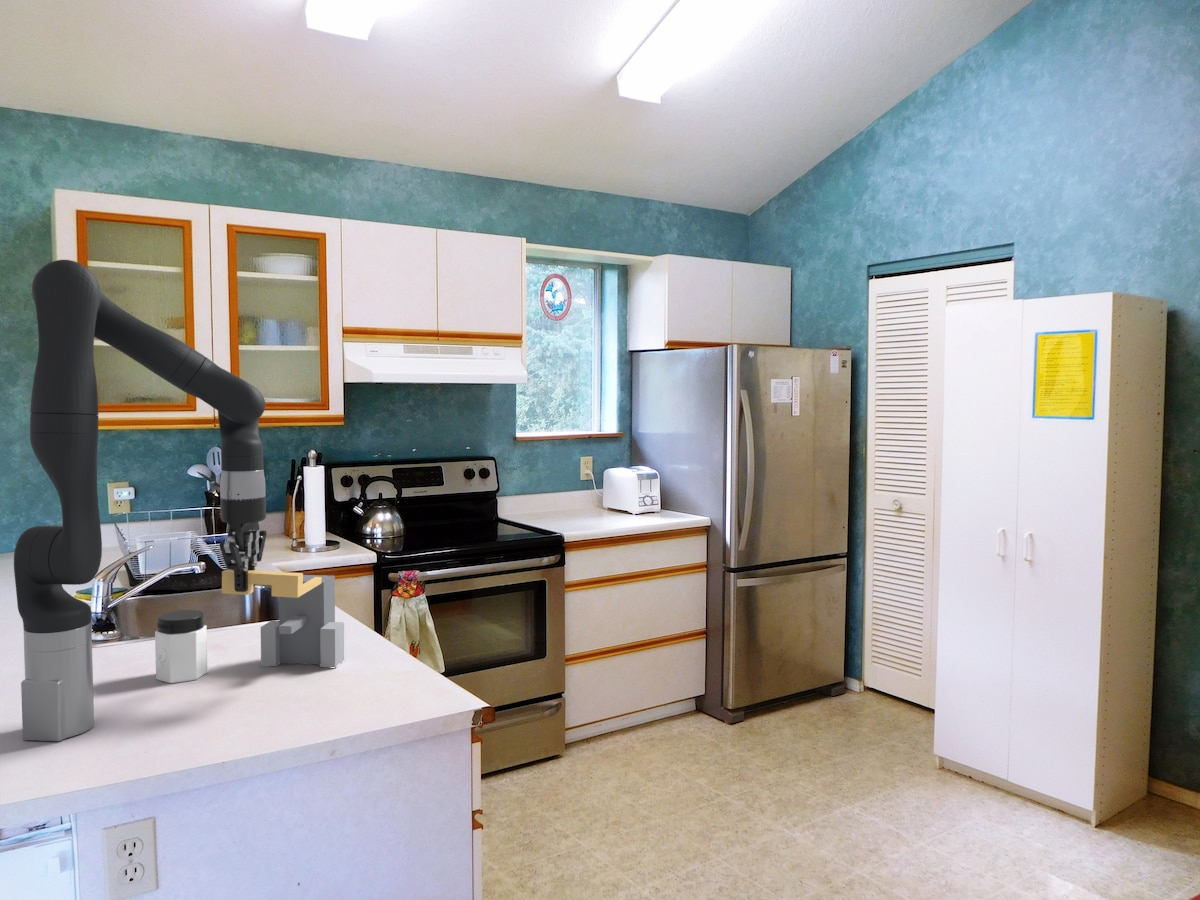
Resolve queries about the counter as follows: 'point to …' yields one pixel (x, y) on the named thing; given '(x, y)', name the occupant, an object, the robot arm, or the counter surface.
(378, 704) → the counter surface
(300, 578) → the tan u-shaped bracket
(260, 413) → the robot arm
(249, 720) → the counter surface
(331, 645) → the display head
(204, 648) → the jar
